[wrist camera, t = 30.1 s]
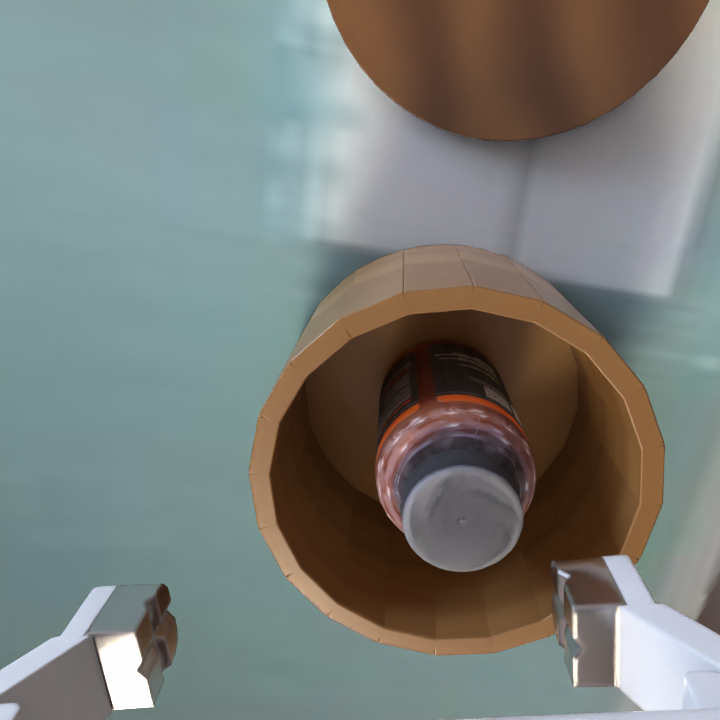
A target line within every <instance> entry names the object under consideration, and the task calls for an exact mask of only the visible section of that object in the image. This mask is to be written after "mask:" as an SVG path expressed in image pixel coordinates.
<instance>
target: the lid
mask: <svg viewBox="0 0 720 720" xmlns="http://www.w3.org/2000/svg"><path fill="white" fill-rule="evenodd" d="M327 2H328V5H329V8H330V11H331V14H332V17H333V19H334V22H335V24H336V26H337V28H338V30H339V32H340V34H341V36H342V38H343V40H344V42H345V44H346V46H347V47H348V49H349V50H350V52H351V53H352V55H353V56H354V58H355V59H356V61H357V62H358V64H359V66H360V67H361V68H362V70H363V71H364V72H365V73H366V74H367V75H368V77H369V78H370V79H371V80H372V81H373V82H374V84H375V85H376V86H377V87H378V88H379V89H380V90H381V91H382V92H384V93H385V94H386V95H387V96H388V97H389V98H390V99H391V100H393V101H394V102H395V103H396V104H397V105H399V106H400V107H402V108H403V109H405V110H406V111H408V112H409V113H411V114H412V115H414V116H415V117H417V118H419V119H421V120H423V121H425V122H427V123H429V124H431V125H433V126H435V127H437V128H439V129H442V130H445V131H448V132H451V133H454V134H457V135H460V136H465V137H471V138H476V139H482V140H493V141H519V140H529V139H538V138H542V137H547V136H551V135H555V134H560V133H563V132H566V131H568V130H571V129H574V128H577V127H579V126H582V125H585V124H587V123H589V122H591V121H593V120H595V119H597V118H599V117H601V116H602V115H604V114H606V113H608V112H610V111H612V110H613V109H615V108H616V107H618V106H619V105H620V104H622V103H623V102H625V101H626V100H628V99H629V98H631V97H632V96H634V95H635V94H636V93H637V92H638V91H639V90H640V89H642V88H643V87H644V86H645V85H646V84H647V83H648V82H650V81H651V80H652V79H653V78H654V77H655V76H656V75H657V74H658V73H659V72H660V71H661V70H662V69H663V67H664V66H665V65H666V64H667V63H668V62H669V61H670V60H671V59H672V57H673V56H674V55H675V54H676V53H677V51H678V50H679V49H680V47H681V46H682V44H683V43H684V42H685V40H686V39H687V37H688V36H689V35H690V33H691V32H692V31H693V29H694V27H695V25H696V24H697V22H698V20H699V18H700V16H701V15H702V13H703V11H704V9H705V8H706V6H707V4H708V2H709V0H327Z"/></svg>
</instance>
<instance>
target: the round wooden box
mask: <svg viewBox="0 0 720 720" xmlns="http://www.w3.org/2000/svg"><path fill="white" fill-rule="evenodd" d="M438 340H451V341H456V342H461V343H464V344H466V345H468V346H471V347H473V348H475V349H476V350H478V351H479V352H481V353H482V354H483V355H485V356H486V357H487V358H488V359H489V360H490V361H491V363H492V364H493V365H494V366H495V367H496V369H497V371H498V373H499V375H500V377H501V379H502V381H503V383H504V385H505V388H506V390H507V392H508V395H509V397H510V400H511V402H512V404H513V406H514V409H515V411H516V413H517V416H518V418H519V420H520V423H521V425H522V427H523V430H524V432H525V434H526V437H527V439H528V442H529V444H530V447H531V449H532V453H533V456H534V461H535V467H536V484H535V491H534V495H533V499H532V501H531V503H530V505H529V507H528V510H527V511H526V513H525V515H524V519H523V529H522V531H521V534H520V536H519V538H518V541H517V543H516V544H515V546H514V547H513V549H512V550H511V551H510V552H509V553H508V554H507V555H506V556H505V557H504V558H502V559H501V560H500V561H498V562H497V563H495V564H492V565H490V566H488V567H486V568H483V569H480V570H475V571H468V572H456V571H449V570H444V569H441V568H438V567H436V566H434V565H432V564H430V563H428V562H426V561H425V560H423V559H422V558H421V557H420V556H419V555H417V554H416V553H415V551H414V550H413V549H412V548H411V546H410V545H409V543H408V541H407V539H406V537H405V534H404V532H402V531H401V530H400V529H398V527H397V526H396V525H395V524H394V523H393V522H392V521H391V520H390V518H389V517H388V516H387V514H386V512H385V510H384V508H383V506H382V504H381V502H380V499H379V496H378V491H377V487H376V478H375V465H376V462H375V459H376V447H377V429H378V413H379V398H380V393H381V387H382V384H383V381H384V378H385V376H386V374H387V372H388V370H389V369H390V367H391V366H392V364H393V363H394V362H395V361H396V360H397V359H398V358H399V357H400V356H401V355H402V354H403V353H405V352H406V351H407V350H409V349H411V348H413V347H415V346H417V345H420V344H423V343H427V342H431V341H438ZM664 458H665V446H664V441H663V438H662V435H661V432H660V429H659V426H658V423H657V420H656V417H655V414H654V411H653V408H652V406H651V403H650V400H649V397H648V394H647V391H646V388H645V387H644V385H643V383H642V382H641V381H640V380H639V378H638V377H637V376H636V375H635V374H634V372H633V371H632V370H631V369H630V368H629V366H628V365H627V364H626V363H625V362H624V360H623V359H622V358H621V357H620V355H619V354H618V353H617V352H616V351H615V349H614V348H613V347H612V346H611V345H610V343H609V342H608V341H607V340H606V338H605V337H604V336H603V335H602V334H601V333H600V332H599V331H598V330H597V329H596V328H595V327H594V326H593V325H592V324H591V323H590V322H589V321H588V320H587V319H586V318H585V317H584V316H583V315H582V314H581V313H580V312H579V311H578V310H577V309H575V308H574V307H573V306H572V305H571V304H570V303H569V302H568V301H567V300H566V299H565V298H564V297H563V296H562V295H561V294H560V293H559V292H558V291H557V290H556V289H555V288H554V287H553V286H552V285H551V284H550V283H549V282H548V281H547V280H545V279H544V278H542V277H540V276H539V275H537V274H535V273H534V272H532V271H531V270H529V269H528V268H526V267H525V266H523V265H522V264H520V263H518V262H516V261H514V260H512V259H510V258H509V257H507V256H504V255H501V254H497V253H494V252H491V251H488V250H484V249H480V248H474V247H469V246H463V245H445V244H439V245H427V246H418V247H414V248H409V249H404V250H400V251H397V252H394V253H392V254H389V255H386V256H383V257H380V258H378V259H376V260H375V261H373V262H371V263H369V264H367V265H365V266H363V267H361V268H359V269H357V270H356V271H354V272H353V273H352V274H351V275H350V276H348V277H347V278H345V279H344V280H343V281H342V282H341V283H340V284H339V285H338V286H337V287H336V288H334V289H333V290H332V291H331V292H330V293H329V294H328V295H327V296H326V297H325V298H324V299H323V300H322V301H321V302H320V303H319V305H318V307H317V308H316V310H315V312H314V314H313V315H312V317H311V319H310V321H309V322H308V324H307V326H306V328H305V329H304V331H303V333H302V335H301V336H300V338H299V340H298V342H297V344H296V345H295V347H294V349H293V351H292V353H291V355H290V357H289V359H288V360H287V362H286V364H285V366H284V368H283V370H282V372H281V374H280V376H279V377H278V379H277V381H276V383H275V385H274V387H273V389H272V391H271V392H270V394H269V396H268V398H267V400H266V402H265V404H264V406H263V408H262V409H261V411H260V414H259V416H258V421H257V426H256V432H255V438H254V443H253V449H252V455H251V460H250V466H249V478H250V484H251V489H252V495H253V501H254V507H255V512H256V518H257V524H258V527H259V530H260V532H261V534H262V536H263V537H264V539H265V541H266V543H267V545H268V546H269V548H270V550H271V552H272V554H273V555H274V557H275V559H276V561H277V563H278V565H279V566H280V568H281V570H282V572H283V574H284V575H285V576H286V578H287V579H288V580H289V581H290V582H291V583H292V584H293V585H294V586H295V587H296V588H297V589H298V590H299V591H301V592H302V593H303V594H304V595H305V596H306V597H307V598H308V599H309V600H310V601H311V602H312V603H313V604H314V605H315V606H316V607H317V608H318V609H319V610H320V611H322V612H323V613H324V614H325V615H327V617H329V618H331V619H333V620H335V621H337V622H339V623H341V624H342V625H344V626H346V627H348V628H350V629H352V630H354V631H356V632H358V633H360V634H362V635H364V636H366V637H367V638H369V639H371V640H373V641H375V642H379V643H382V644H387V645H391V646H396V647H400V648H405V649H409V650H414V651H419V652H423V653H428V654H432V655H433V654H435V655H461V654H487V653H494V652H495V653H497V652H500V651H503V650H507V649H510V648H513V647H516V646H520V645H523V644H526V643H530V642H533V641H536V640H539V639H543V638H546V637H549V636H551V635H553V634H555V628H554V623H553V615H552V601H551V597H552V595H553V594H554V593H555V588H554V585H553V583H552V580H551V562H552V561H556V560H570V559H583V558H597V557H602V556H613V555H623V554H626V555H627V556H629V557H630V559H631V561H632V563H633V564H634V565H635V564H636V563H637V562H638V561H639V558H641V556H642V553H643V551H644V548H645V546H646V544H647V541H648V539H649V536H650V534H651V531H652V529H653V526H654V524H655V522H656V519H657V517H658V514H659V512H660V509H661V507H662V504H663V484H664Z"/></svg>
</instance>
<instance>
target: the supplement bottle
mask: <svg viewBox="0 0 720 720" xmlns="http://www.w3.org/2000/svg"><path fill="white" fill-rule="evenodd" d="M375 462H376V465H375V478H376V487H377V491H378V496H379V499H380V502H381V504H382V506H383V508H384V510H385V512H386V514H387V516H388V517H389V518H390V520H391V521H392V522H393V523H394V524H395V525H396V526H397V527H398V529H400V530H401V531H402V532H404V534H405V537H406V539H407V541H408V543H409V545H410V546H411V548H412V549H413V550H414V551H415V553H416V554H417V555H419V556H420V557H421V558H422V559H423V560H425V561H426V562H428V563H430V564H432V565H434V566H436V567H438V568H441V569H444V570H449V571H456V572H468V571H475V570H480V569H483V568H486V567H488V566H490V565H492V564H495V563H497V562H498V561H500V560H501V559H502V558H504V557H505V556H506V555H507V554H508V553H509V552H510V551H511V550H512V549H513V547H514V546H515V544H516V543H517V541H518V538H519V536H520V534H521V531H522V529H523V519H524V515H525V513H526V511H527V510H528V507H529V505H530V503H531V501H532V499H533V495H534V491H535V484H536V467H535V461H534V456H533V453H532V449H531V447H530V444H529V442H528V439H527V437H526V434H525V432H524V430H523V427H522V425H521V423H520V420H519V418H518V416H517V413H516V411H515V409H514V406H513V404H512V402H511V400H510V397H509V395H508V392H507V390H506V388H505V385H504V383H503V381H502V379H501V377H500V375H499V373H498V371H497V369H496V367H495V366H494V365H493V364H492V363H491V361H490V360H489V359H488V358H487V357H486V356H485V355H483V354H482V353H481V352H479V351H478V350H476V349H475V348H473V347H471V346H468V345H466V344H464V343H461V342H456V341H451V340H438V341H431V342H427V343H423V344H420V345H417V346H415V347H413V348H411V349H409V350H407V351H406V352H405V353H403V354H402V355H401V356H400V357H399V358H398V359H397V360H396V361H395V362H394V363H393V364H392V366H391V367H390V369H389V370H388V372H387V374H386V376H385V378H384V381H383V384H382V387H381V393H380V398H379V413H378V429H377V447H376V459H375Z"/></svg>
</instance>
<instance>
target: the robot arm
mask: <svg viewBox="0 0 720 720" xmlns="http://www.w3.org/2000/svg"><path fill="white" fill-rule="evenodd" d="M551 580H552V583H553V585H554V588H555V593H554V594H553V595H552V597H551V601H552V615H553V623H554V628H555V633H556V636H557V640H558V643H559V645H560V646H561V647H563V648H564V654H565V664H566V667H567V670H568V673H569V676H570V678H571V681H572V684H573V687H617V686H619V689H620V690H621V691H622V692H623V693H624V694H625V695H627V696H628V697H629V698H630V699H631V700H632V701H633V702H634V703H636V704H637V705H638V706H639V707H640V708H641V709H642V710H643V711H632V712H608V713H584V714H561V715H538V716H515V717H492V718H469V719H446V720H720V635H719V634H717V633H715V632H714V631H712V630H710V629H708V628H706V627H704V626H703V625H701V624H699V623H697V622H696V621H694V620H692V619H690V618H689V617H687V616H685V615H683V614H681V613H680V612H678V611H676V610H674V609H672V608H671V607H669V606H667V605H665V604H656V602H655V600H654V599H653V597H652V595H651V593H650V592H649V590H648V588H647V587H646V585H645V583H644V581H643V580H642V578H641V576H640V575H639V573H638V571H637V569H636V568H635V566H634V564H633V563H632V561H631V559H630V557H629V556H627V555H626V554H623V555H613V556H602V557H597V558H583V559H570V560H556V561H552V562H551ZM170 602H171V598H170V594H169V590H168V587H167V586H166V585H164V584H143V585H120V586H101V587H96V588H94V589H92V591H91V592H90V594H89V595H88V597H87V598H86V599H85V601H84V602H83V604H82V605H81V607H80V608H79V610H78V611H77V613H76V614H75V616H74V617H73V619H72V620H71V622H70V623H69V624H68V626H67V627H66V629H65V630H64V632H63V633H62V635H61V636H60V637H53V638H51V639H50V640H48V641H46V642H45V643H43V644H42V645H40V646H38V647H37V648H35V649H34V650H32V651H30V652H29V653H27V654H26V655H24V656H22V657H21V658H19V659H18V660H16V661H14V662H13V663H11V664H10V665H8V666H6V667H5V668H3V669H2V670H0V720H105V719H106V718H107V717H108V716H109V715H110V714H111V713H112V710H116V709H129V708H142V707H153V706H154V704H155V702H156V699H157V697H158V695H159V692H160V690H161V688H162V685H163V683H164V678H163V673H162V672H163V671H164V670H165V669H166V668H168V667H169V666H170V665H171V664H172V662H173V659H174V657H175V654H176V648H177V641H178V634H177V625H176V620H175V617H174V616H172V615H171V614H170V613H169V612H168V611H167V608H168V606H169V604H170Z"/></svg>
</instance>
